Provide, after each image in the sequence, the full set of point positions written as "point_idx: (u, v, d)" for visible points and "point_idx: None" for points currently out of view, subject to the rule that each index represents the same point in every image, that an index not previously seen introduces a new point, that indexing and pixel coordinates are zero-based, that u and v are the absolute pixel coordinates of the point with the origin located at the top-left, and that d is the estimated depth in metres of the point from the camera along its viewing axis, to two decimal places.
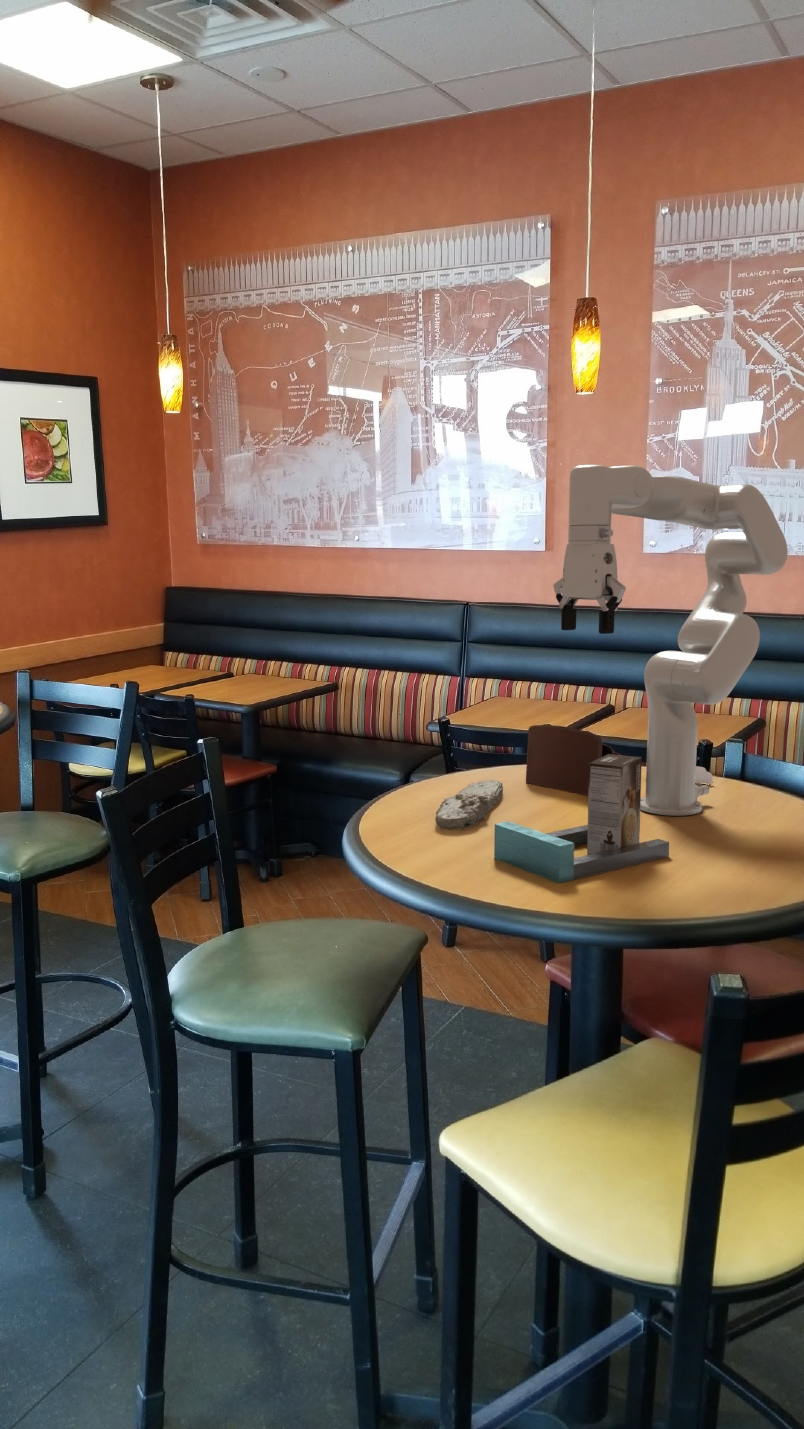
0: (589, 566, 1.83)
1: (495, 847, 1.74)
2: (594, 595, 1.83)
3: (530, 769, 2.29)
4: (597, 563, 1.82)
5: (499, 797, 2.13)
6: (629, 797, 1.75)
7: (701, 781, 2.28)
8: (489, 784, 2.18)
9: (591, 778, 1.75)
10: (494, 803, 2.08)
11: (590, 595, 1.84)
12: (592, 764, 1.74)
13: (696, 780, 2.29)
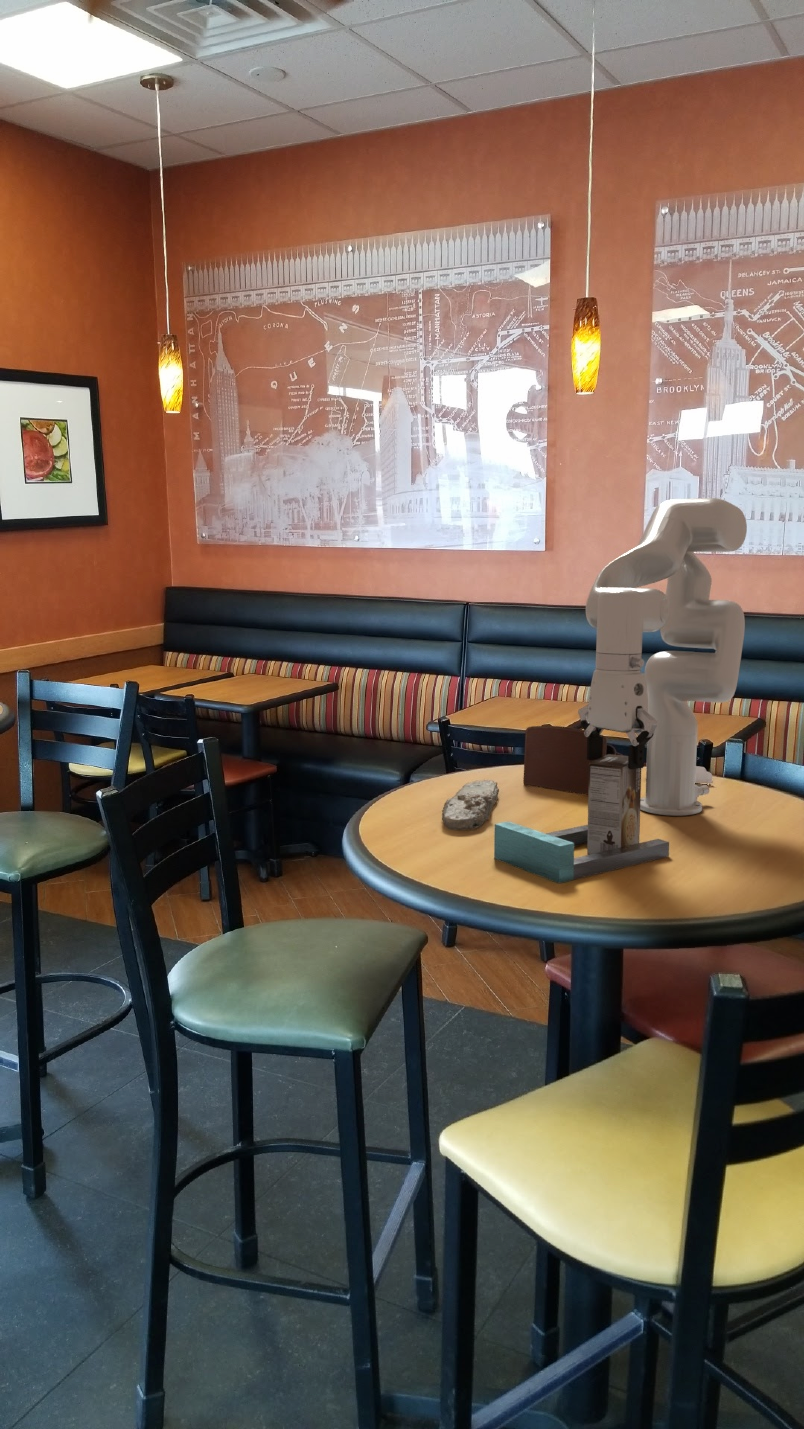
0: (618, 697, 1.71)
1: (495, 847, 1.74)
2: (623, 728, 1.71)
3: (528, 770, 2.27)
4: (627, 695, 1.70)
5: None
6: (629, 797, 1.75)
7: (701, 781, 2.28)
8: (484, 784, 2.18)
9: (591, 778, 1.75)
10: (494, 803, 2.08)
11: (619, 728, 1.72)
12: (592, 764, 1.74)
13: (696, 780, 2.29)
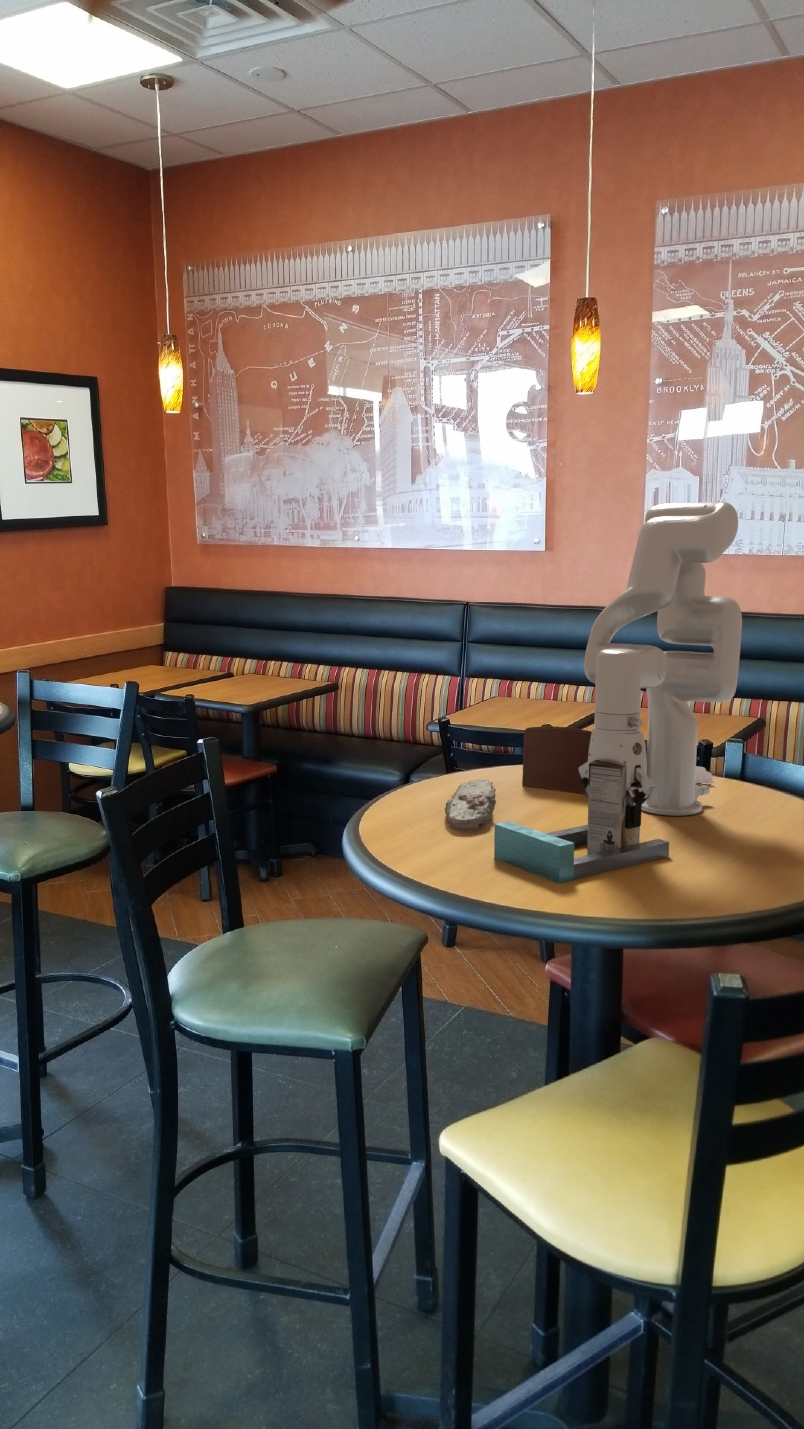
0: (617, 756, 1.73)
1: (495, 847, 1.74)
2: None
3: (527, 772, 2.26)
4: (626, 754, 1.72)
5: None
6: None
7: (701, 781, 2.29)
8: (480, 784, 2.19)
9: (592, 778, 1.75)
10: None
11: None
12: (592, 764, 1.74)
13: (696, 780, 2.29)
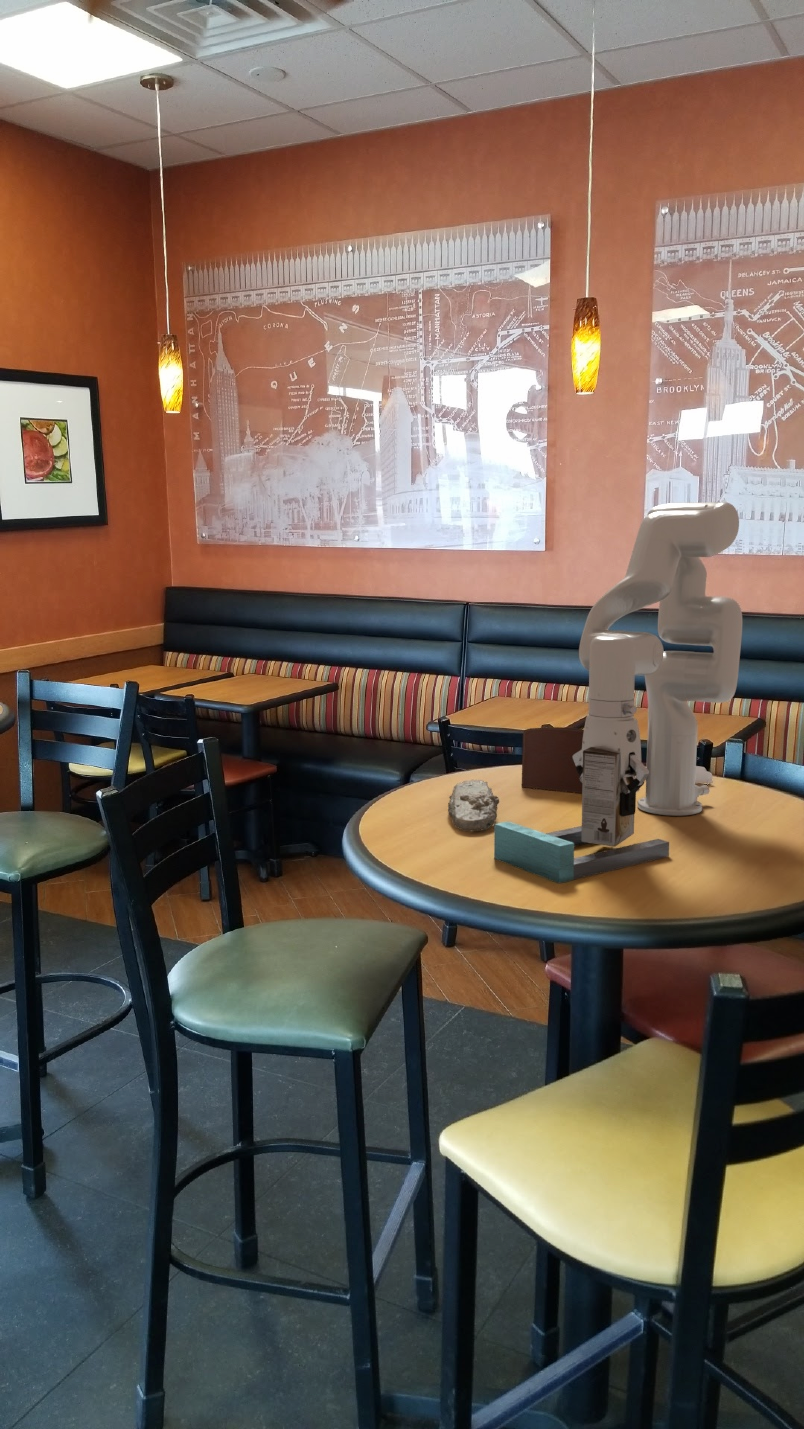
0: (611, 743, 1.72)
1: (495, 847, 1.74)
2: None
3: (527, 773, 2.25)
4: (620, 742, 1.71)
5: None
6: None
7: (701, 781, 2.29)
8: (476, 784, 2.19)
9: (586, 765, 1.73)
10: None
11: None
12: (586, 751, 1.73)
13: (696, 780, 2.29)
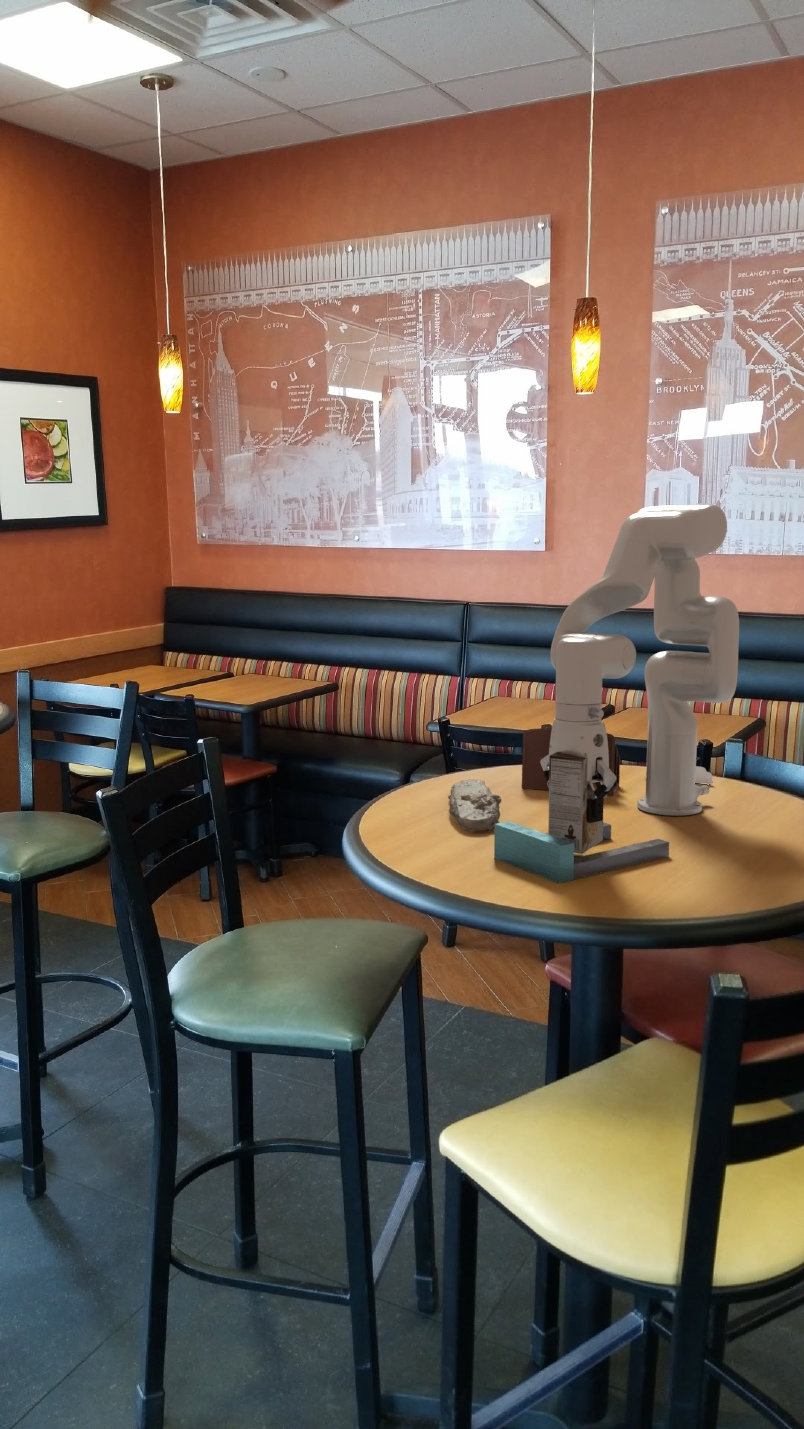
0: (578, 748, 1.68)
1: (495, 847, 1.74)
2: None
3: (527, 774, 2.24)
4: (586, 746, 1.66)
5: None
6: None
7: (701, 781, 2.28)
8: (473, 783, 2.19)
9: (552, 771, 1.69)
10: None
11: None
12: (552, 756, 1.69)
13: (696, 780, 2.29)
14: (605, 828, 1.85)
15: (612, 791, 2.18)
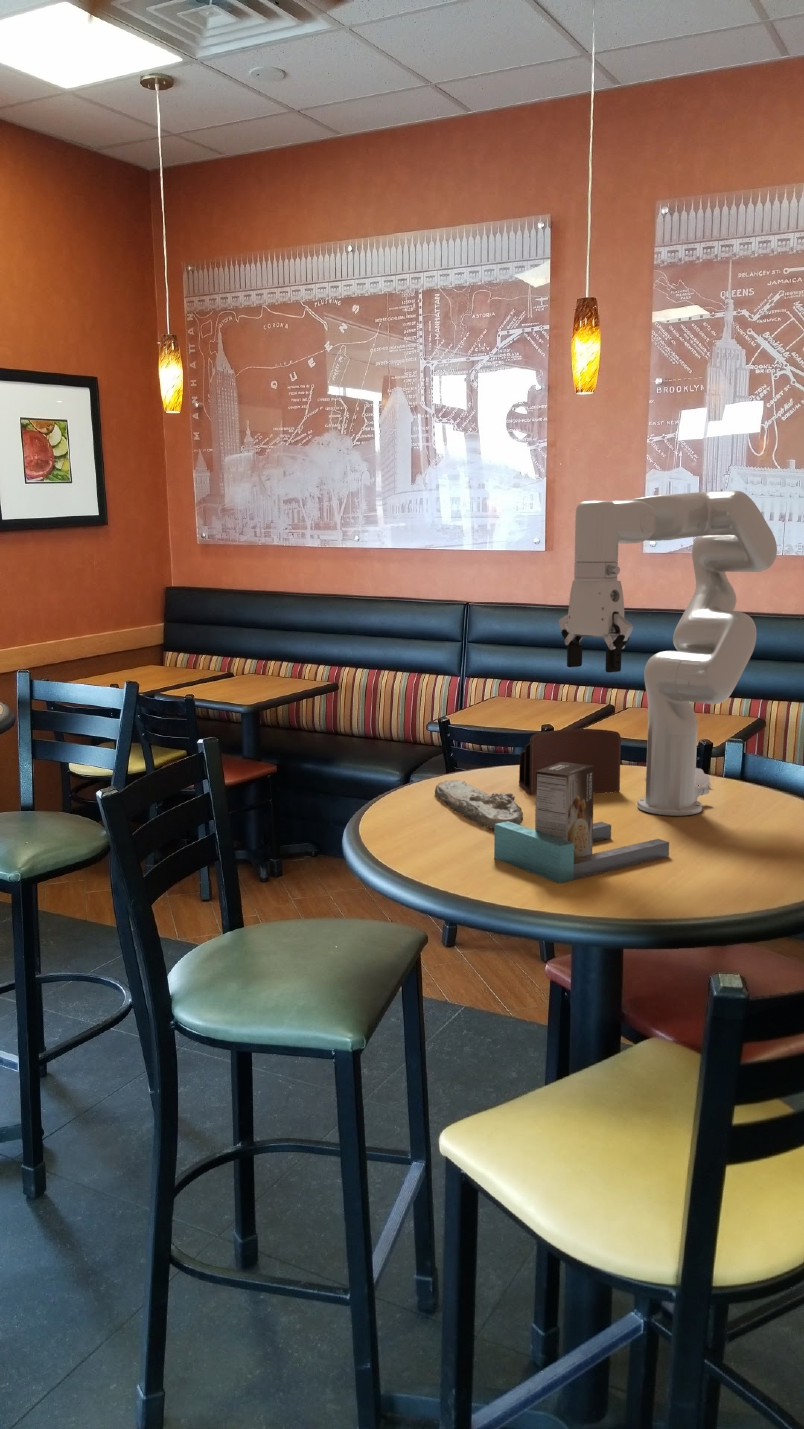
0: (596, 604, 1.80)
1: (495, 847, 1.74)
2: (601, 633, 1.80)
3: None
4: (604, 601, 1.78)
5: None
6: (577, 807, 1.68)
7: (699, 783, 2.27)
8: (457, 784, 2.18)
9: (538, 787, 1.69)
10: None
11: (597, 633, 1.80)
12: (539, 772, 1.68)
13: None
14: (605, 828, 1.85)
15: (619, 787, 2.21)
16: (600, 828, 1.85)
